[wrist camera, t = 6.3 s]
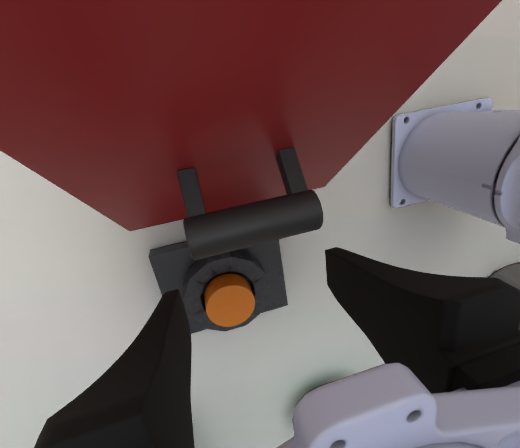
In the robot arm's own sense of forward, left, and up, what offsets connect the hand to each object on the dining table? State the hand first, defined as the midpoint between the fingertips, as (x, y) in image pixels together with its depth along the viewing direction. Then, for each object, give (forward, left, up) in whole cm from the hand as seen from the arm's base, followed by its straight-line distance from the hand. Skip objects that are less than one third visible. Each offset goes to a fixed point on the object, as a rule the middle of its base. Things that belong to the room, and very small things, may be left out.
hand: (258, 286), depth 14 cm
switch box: (+1, +5, -10) cm, 12 cm away
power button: (+1, +5, -8) cm, 9 cm away
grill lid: (0, -7, 0) cm, 7 cm away
